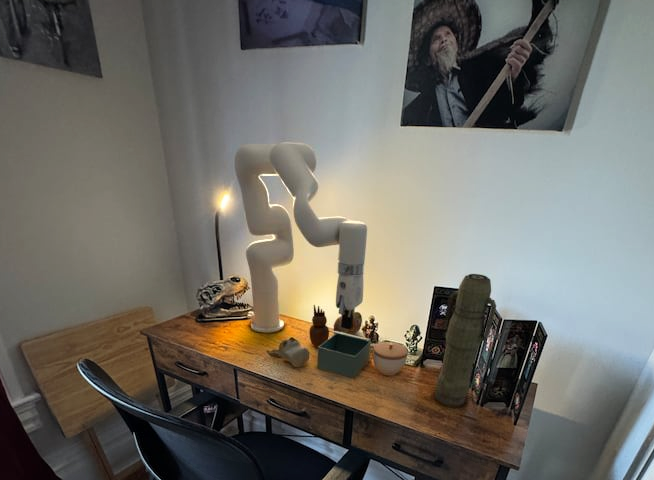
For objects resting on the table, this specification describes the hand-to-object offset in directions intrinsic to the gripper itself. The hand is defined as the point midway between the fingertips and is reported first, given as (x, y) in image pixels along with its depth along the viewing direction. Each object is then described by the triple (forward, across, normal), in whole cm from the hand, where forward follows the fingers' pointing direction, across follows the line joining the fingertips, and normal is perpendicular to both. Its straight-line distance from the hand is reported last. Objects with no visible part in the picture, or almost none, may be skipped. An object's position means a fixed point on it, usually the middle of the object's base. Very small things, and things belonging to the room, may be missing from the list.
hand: (346, 327), depth 118 cm
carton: (+12, -1, 0) cm, 12 cm away
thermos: (+12, -4, -36) cm, 38 cm away
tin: (+13, +20, +9) cm, 25 cm away
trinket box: (+12, +2, -14) cm, 19 cm away
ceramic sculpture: (+13, -8, +15) cm, 22 cm away
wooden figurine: (+13, +7, +14) cm, 20 cm away
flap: (+4, +2, 0) cm, 4 cm away
